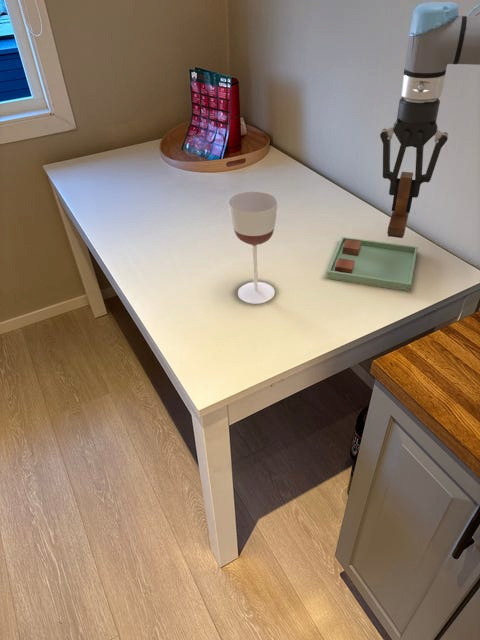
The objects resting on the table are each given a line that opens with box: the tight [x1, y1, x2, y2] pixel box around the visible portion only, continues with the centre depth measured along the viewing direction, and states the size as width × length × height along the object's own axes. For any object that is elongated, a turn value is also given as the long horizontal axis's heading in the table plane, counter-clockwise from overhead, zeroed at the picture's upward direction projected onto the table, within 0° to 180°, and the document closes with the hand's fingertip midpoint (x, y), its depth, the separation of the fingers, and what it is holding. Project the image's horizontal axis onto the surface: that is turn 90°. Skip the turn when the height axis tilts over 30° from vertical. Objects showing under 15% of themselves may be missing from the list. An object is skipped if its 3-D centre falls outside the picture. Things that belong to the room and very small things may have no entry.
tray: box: [326, 236, 419, 293], centre depth 119 cm, size 19×17×2 cm
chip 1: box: [342, 240, 361, 256], centre depth 124 cm, size 4×4×2 cm
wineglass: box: [228, 191, 278, 305], centre depth 106 cm, size 9×10×23 cm
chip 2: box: [335, 258, 355, 274], centre depth 118 cm, size 4×4×2 cm
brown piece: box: [386, 171, 414, 239], centre depth 107 cm, size 4×14×12 cm, turn 160°
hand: (401, 208), depth 109 cm, fingers closed on brown piece, 2 cm apart
